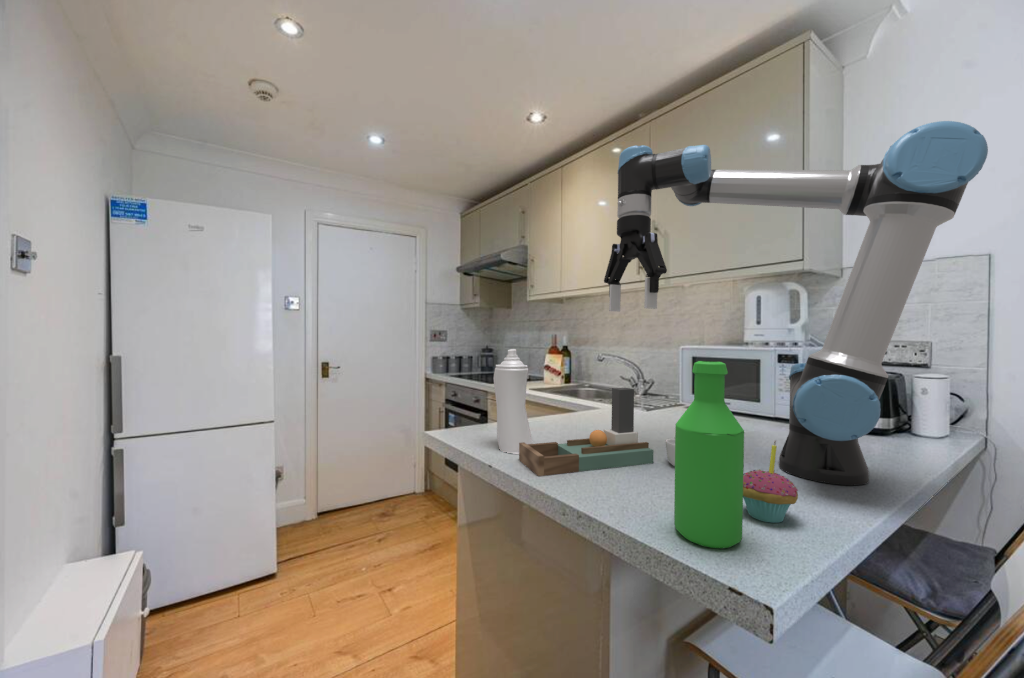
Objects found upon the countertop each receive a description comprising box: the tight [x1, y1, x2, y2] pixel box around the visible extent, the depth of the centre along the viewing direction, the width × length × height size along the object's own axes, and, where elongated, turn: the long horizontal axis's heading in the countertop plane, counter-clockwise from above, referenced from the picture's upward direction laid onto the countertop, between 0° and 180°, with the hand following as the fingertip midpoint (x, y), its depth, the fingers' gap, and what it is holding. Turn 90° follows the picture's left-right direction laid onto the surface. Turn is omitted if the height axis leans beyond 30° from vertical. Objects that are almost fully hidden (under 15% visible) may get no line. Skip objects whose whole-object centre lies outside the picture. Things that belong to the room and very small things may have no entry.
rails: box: [566, 437, 650, 454], centre depth 95 cm, size 8×17×1 cm, turn 110°
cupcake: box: [743, 440, 799, 524], centre depth 65 cm, size 9×8×12 cm
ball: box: [588, 429, 607, 447], centre depth 94 cm, size 4×4×4 cm
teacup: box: [665, 437, 675, 468], centre depth 90 cm, size 10×8×5 cm
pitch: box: [558, 442, 654, 472], centre depth 94 cm, size 11×19×3 cm, turn 110°
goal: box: [518, 441, 580, 477], centre depth 90 cm, size 11×9×4 cm
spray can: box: [493, 348, 534, 455], centre depth 104 cm, size 12×11×25 cm
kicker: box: [603, 387, 639, 445], centre depth 96 cm, size 5×6×13 cm
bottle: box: [673, 360, 745, 549], centre depth 59 cm, size 9×9×25 cm
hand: (631, 310), depth 95 cm, fingers open, 13 cm apart
